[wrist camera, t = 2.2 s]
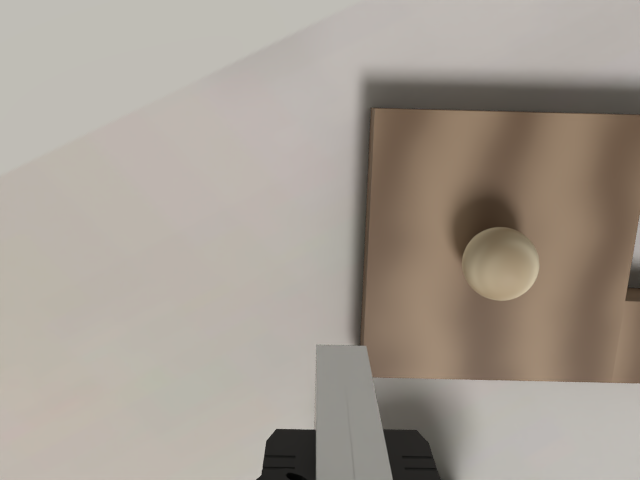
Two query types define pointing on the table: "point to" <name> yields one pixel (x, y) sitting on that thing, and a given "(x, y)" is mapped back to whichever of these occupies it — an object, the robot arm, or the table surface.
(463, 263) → the ball
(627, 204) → the brown wooden flat board
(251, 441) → the table surface
